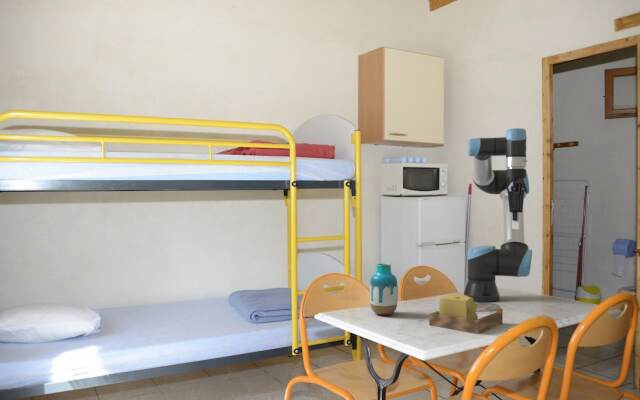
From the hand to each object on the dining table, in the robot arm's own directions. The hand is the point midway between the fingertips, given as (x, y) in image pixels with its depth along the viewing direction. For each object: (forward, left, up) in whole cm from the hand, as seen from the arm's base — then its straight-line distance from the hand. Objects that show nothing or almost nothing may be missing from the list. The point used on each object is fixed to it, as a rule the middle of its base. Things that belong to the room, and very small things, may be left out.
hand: (516, 228), depth 208 cm
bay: (-5, -31, -32) cm, 45 cm away
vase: (-36, -38, -33) cm, 62 cm away
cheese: (-7, -34, -33) cm, 48 cm away
